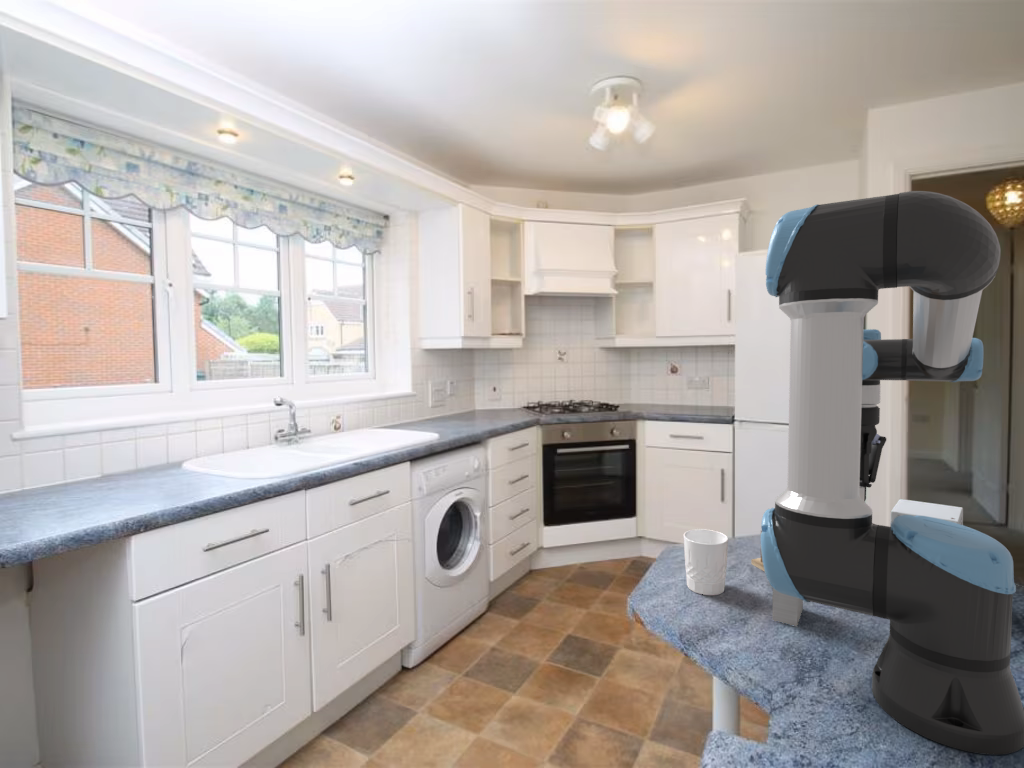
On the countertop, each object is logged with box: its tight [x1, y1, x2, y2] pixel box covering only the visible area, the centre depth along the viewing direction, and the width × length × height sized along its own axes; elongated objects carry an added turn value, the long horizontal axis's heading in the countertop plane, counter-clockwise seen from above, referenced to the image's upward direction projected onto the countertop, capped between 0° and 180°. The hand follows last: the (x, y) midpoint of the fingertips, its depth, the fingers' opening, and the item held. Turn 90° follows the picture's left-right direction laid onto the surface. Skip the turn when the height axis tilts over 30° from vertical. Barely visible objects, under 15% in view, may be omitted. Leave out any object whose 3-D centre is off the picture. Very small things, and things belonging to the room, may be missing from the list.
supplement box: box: [889, 498, 964, 527], centre depth 93 cm, size 10×9×17 cm
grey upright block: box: [771, 587, 804, 627], centre depth 91 cm, size 4×7×10 cm, turn 145°
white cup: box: [683, 528, 729, 596], centre depth 102 cm, size 8×8×10 cm
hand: (855, 516), depth 113 cm, fingers closed
